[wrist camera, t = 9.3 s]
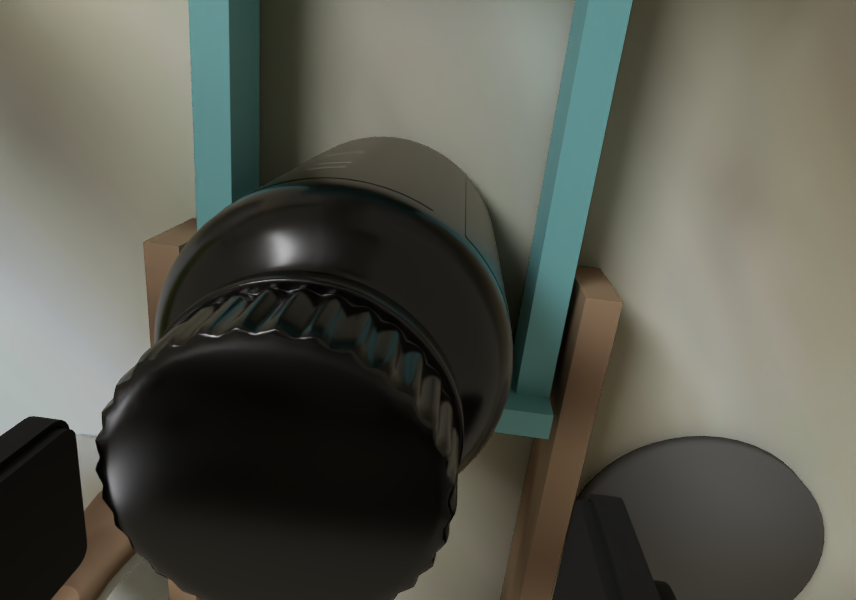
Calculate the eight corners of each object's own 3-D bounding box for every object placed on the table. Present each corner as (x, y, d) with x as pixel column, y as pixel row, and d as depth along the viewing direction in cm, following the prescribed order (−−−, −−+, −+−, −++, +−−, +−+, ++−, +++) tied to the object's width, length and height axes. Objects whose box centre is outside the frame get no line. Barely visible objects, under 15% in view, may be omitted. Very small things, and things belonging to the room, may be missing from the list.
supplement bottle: (278, 322, 20) (25, 633, 9) (292, 117, 17) (-34, 180, 6) (475, 356, 20) (478, 716, 9) (517, 155, 17) (599, 289, 6)
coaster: (592, 420, 20) (595, 430, 20) (852, 454, 20) (863, 465, 19) (546, 609, 23) (547, 622, 23) (769, 641, 23) (776, 655, 23)
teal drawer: (219, -268, 14) (121, -403, 10) (658, -224, 14) (732, -347, 10) (230, 344, 20) (170, 409, 16) (537, 384, 20) (552, 460, 16)
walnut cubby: (192, 218, 19) (143, 242, 16) (600, 268, 18) (623, 302, 16) (209, 622, 25) (175, 690, 22) (510, 666, 25) (515, 740, 22)
